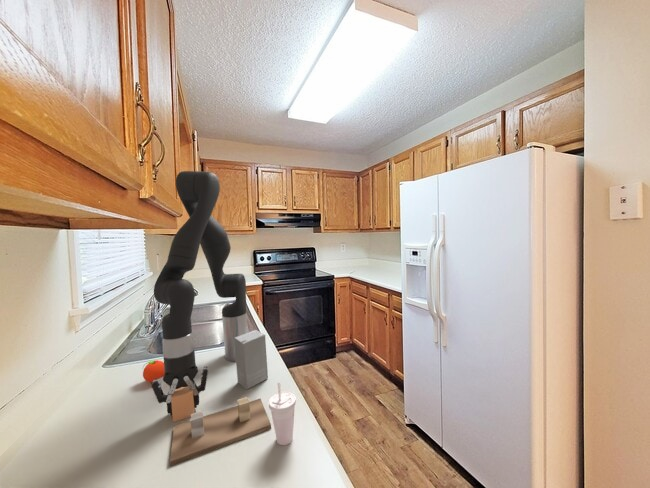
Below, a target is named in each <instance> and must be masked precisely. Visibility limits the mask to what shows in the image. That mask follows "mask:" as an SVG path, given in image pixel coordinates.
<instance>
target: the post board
mask: <svg viewBox="0 0 650 488" xmlns="http://www.w3.org/2000/svg"><path fill="white" fill-rule="evenodd" d="M236 402H237V405H235V406H233V407H229V408H225V409H223V410H219V411H216V412H213V413H210V414H207V415H203V413H204V412H203V411H204V410H201V411H195V413H193V414H191V417H190V420H188V421H184V422H181V423H179V424H175V425H174V426H173V433H172V434H173V435H172V443H171V451H170V459H169V463H170V465H169V466H170V467H172V466H174V465H177V464H179V463H182V462H185V461H187V460H190V459H193V458H196V457H198V456H201V455H204V454H206V453H209V452H211V451H214V450H216V449H219V448H222V447H225V446H228V445H230V444H233V443H235V442H239V441H242V440H244V439H247V438H249V437H252V436H254V435H257V434H259V433H262V432H265V431H268V430H270V429H272V424H271V421H270V419H269V416H268V414H267V411H266V409H265V406H264V403H263V400H262V399H261V397H260V398H257V399H254V400H251V401H250V400H249V397H248V396H245V397H242V398H240V399H237V401H236Z"/></svg>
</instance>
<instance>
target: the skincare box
mask: <svg viewBox="0 0 650 488" xmlns="http://www.w3.org/2000/svg"><path fill="white" fill-rule="evenodd" d="M234 341H235V354H236V361H235V363H236V375H237V376H236V377H237V383H238V384H239V385H240V386H242V387H243V388H244V389H245V390H248V389H251V388H252V387H254V386H256V385H258V384H261V382H263V381H265V380H267V379H268V378H269V374H268V361H267V360H268V358H267V356H268V355H267V341H266V334H264V333H262V332H261V331H259V330H257V329H253V330H252V331H248V333H246V334H243V335H240V336H238V337H235V338H234Z"/></svg>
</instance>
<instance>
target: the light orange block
mask: <svg viewBox="0 0 650 488" xmlns="http://www.w3.org/2000/svg"><path fill="white" fill-rule="evenodd" d="M171 404H172V415H171V416H172V422H173V423H174V422H175V423H176V422H178V421H181V420H183V419H186V418H187V419H188V418H191V414H193V413H196V411H195V410H196V408H194V397H193V389H192V390H190V388H189V387H188V386H187V387H181V388H179V389H176V390H175V391H174V394H173V395H171Z"/></svg>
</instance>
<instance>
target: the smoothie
mask: <svg viewBox="0 0 650 488" xmlns="http://www.w3.org/2000/svg"><path fill="white" fill-rule="evenodd" d="M277 389H278V390H277V393H275V394H273V395H272V396H271V397H270V398H269V400H268V408H269V410H270V413H271V418H272V423H273V428H274V434H275V439H276V442H277V444H278V445H280V446H287V445H289V444H291V442H292V441H293V439H294V438H293V437H294V436H293V435H294V422H295V408H296V407H295V406H296V405H297V398H296V395H295V394H294V393H292V392H290V391H282V389H281V381H277Z"/></svg>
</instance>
